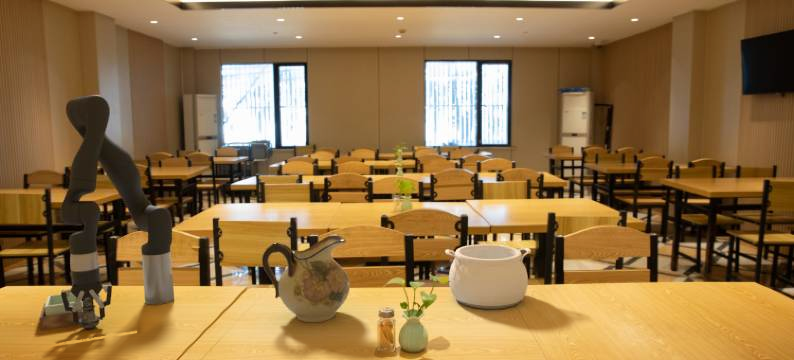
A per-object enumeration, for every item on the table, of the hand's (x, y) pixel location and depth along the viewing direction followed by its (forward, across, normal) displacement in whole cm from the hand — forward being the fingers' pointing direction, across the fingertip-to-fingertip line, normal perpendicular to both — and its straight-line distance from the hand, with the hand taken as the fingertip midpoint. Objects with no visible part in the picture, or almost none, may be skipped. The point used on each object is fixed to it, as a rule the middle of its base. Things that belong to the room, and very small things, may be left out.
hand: (89, 320), depth 182 cm
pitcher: (+3, -64, +20) cm, 67 cm away
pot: (+3, -122, +32) cm, 126 cm away
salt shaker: (+3, 0, 0) cm, 3 cm away
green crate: (+2, +7, -13) cm, 15 cm away
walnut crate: (+3, +7, -13) cm, 15 cm away
